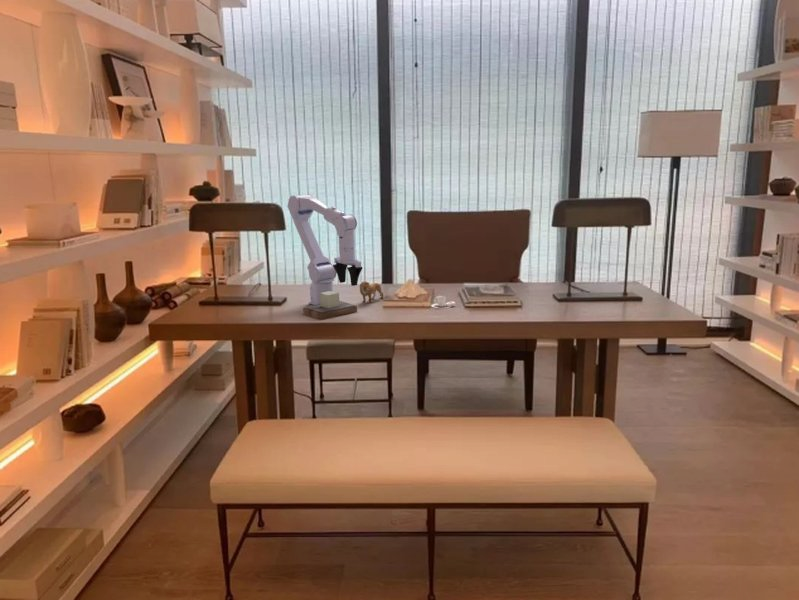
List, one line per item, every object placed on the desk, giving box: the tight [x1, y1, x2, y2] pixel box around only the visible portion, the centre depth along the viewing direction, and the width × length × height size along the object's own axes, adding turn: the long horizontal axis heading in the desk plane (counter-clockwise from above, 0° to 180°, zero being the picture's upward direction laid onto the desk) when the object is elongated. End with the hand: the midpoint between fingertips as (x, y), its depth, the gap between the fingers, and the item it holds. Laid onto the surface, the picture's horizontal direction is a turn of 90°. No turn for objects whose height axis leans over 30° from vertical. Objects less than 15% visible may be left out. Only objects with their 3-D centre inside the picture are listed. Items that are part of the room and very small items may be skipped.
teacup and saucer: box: [430, 295, 456, 309], centre depth 241 cm, size 9×8×4 cm
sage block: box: [320, 290, 340, 308], centre depth 234 cm, size 5×5×5 cm
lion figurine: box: [359, 280, 385, 304], centre depth 252 cm, size 15×5×9 cm, turn 153°
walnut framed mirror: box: [302, 300, 358, 321], centre depth 235 cm, size 12×16×2 cm
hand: (348, 283), depth 237 cm, fingers open, 7 cm apart
